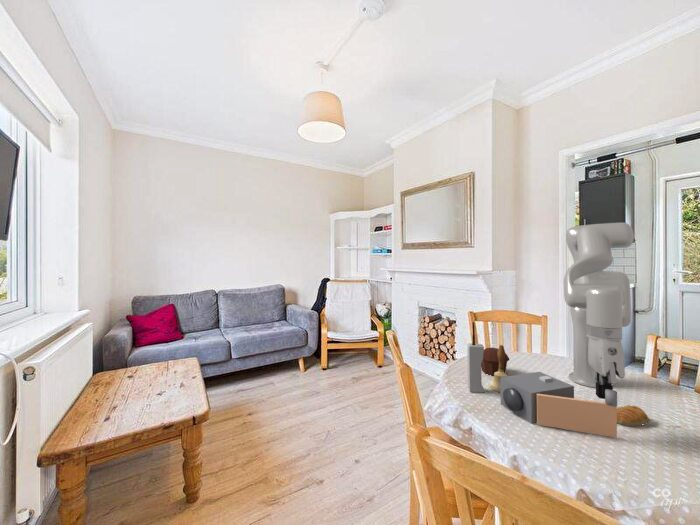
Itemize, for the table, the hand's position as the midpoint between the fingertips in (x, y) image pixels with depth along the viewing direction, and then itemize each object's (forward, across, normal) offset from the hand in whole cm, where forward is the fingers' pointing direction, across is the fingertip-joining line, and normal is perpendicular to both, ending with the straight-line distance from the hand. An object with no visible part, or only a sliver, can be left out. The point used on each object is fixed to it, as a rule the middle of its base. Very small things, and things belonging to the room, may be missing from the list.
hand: (604, 397), depth 82 cm
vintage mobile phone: (+9, +16, +32) cm, 37 cm away
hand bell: (+9, +21, +23) cm, 32 cm away
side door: (+9, -3, +8) cm, 12 cm away
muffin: (+10, +36, +24) cm, 44 cm away
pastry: (+10, +8, -9) cm, 15 cm away
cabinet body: (+9, +7, +15) cm, 19 cm away
